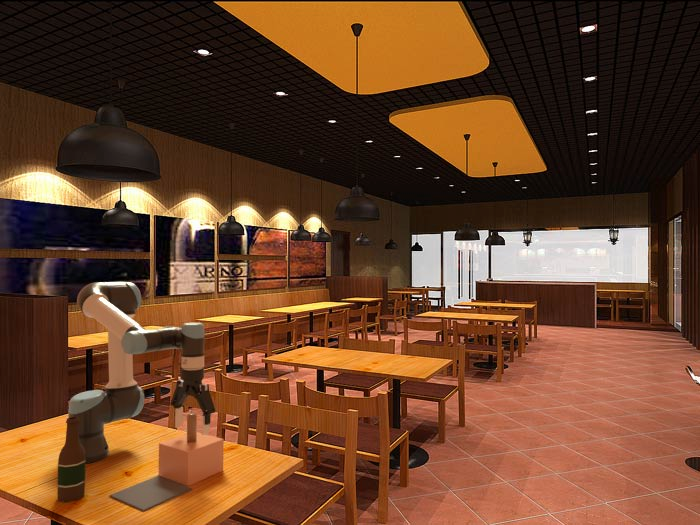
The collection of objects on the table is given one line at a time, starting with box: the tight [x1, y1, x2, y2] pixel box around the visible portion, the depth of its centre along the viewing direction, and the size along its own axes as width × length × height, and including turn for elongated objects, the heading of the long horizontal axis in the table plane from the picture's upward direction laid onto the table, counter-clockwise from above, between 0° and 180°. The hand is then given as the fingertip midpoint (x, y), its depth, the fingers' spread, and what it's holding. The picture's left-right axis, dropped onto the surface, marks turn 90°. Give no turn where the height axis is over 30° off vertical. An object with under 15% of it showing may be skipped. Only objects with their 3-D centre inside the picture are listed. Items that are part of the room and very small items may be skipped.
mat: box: [109, 475, 193, 512], centre depth 152 cm, size 17×17×1 cm
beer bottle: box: [56, 417, 86, 503], centre depth 150 cm, size 8×8×24 cm
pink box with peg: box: [157, 412, 225, 487], centre depth 168 cm, size 15×15×20 cm
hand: (191, 430), depth 168 cm, fingers open, 13 cm apart
